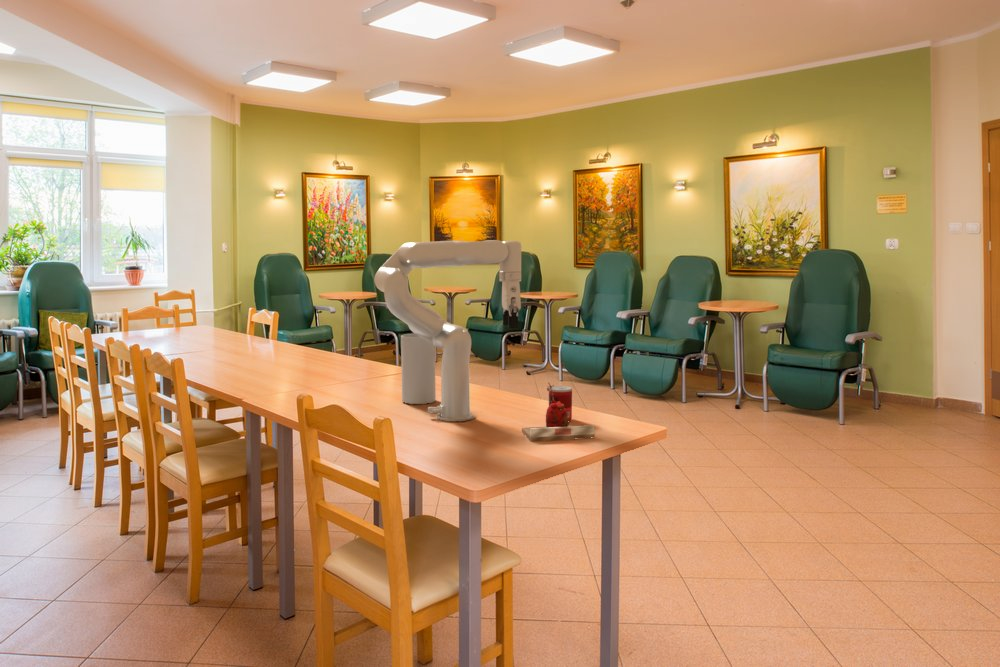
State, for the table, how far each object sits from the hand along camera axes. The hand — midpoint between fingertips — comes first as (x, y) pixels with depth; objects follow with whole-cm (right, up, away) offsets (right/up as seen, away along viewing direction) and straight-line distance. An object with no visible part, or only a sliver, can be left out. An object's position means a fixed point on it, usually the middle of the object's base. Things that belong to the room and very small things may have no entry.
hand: (510, 326), depth 259 cm
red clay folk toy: (+14, -33, -27) cm, 45 cm away
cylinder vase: (-34, -28, +21) cm, 49 cm away
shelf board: (+14, -34, -27) cm, 46 cm away
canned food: (+17, -32, -8) cm, 37 cm away
